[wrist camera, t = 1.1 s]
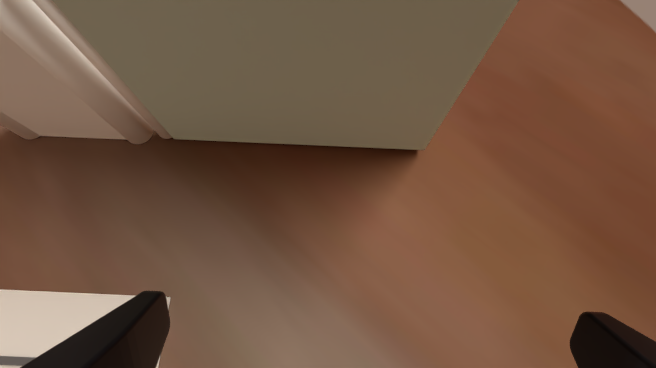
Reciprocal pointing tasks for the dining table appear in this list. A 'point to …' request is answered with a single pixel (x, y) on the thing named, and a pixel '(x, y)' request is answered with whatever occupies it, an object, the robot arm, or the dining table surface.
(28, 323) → the card
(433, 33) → the panel
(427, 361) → the dining table surface
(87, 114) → the fence fixed section
